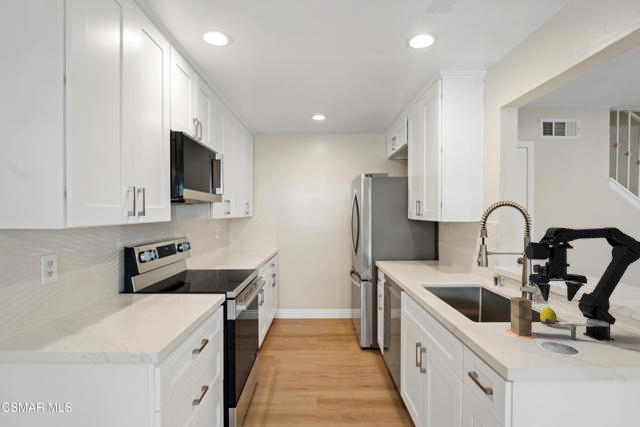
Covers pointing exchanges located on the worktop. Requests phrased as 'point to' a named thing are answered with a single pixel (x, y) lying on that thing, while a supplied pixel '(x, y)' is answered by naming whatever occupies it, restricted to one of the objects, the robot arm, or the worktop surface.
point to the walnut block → (521, 316)
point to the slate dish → (559, 348)
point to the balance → (574, 325)
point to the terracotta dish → (521, 336)
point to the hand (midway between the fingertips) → (557, 301)
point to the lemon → (548, 314)
